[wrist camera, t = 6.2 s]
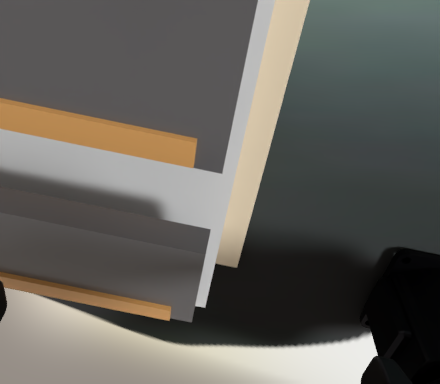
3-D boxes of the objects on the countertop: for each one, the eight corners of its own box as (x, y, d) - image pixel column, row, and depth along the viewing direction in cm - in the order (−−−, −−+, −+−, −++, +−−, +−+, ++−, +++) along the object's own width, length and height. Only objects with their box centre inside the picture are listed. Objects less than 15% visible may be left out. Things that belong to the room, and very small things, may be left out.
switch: (210, 229, 13) (204, 259, 12) (195, 301, 18) (190, 326, 17) (-132, 159, 13) (-160, 185, 12) (-52, 251, 18) (-68, 274, 17)
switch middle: (265, -39, 9) (261, -18, 8) (226, 154, 14) (221, 178, 13) (-244, -145, 9) (-297, -134, 8) (-99, 87, 14) (-123, 107, 13)
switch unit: (422, -432, 10) (581, -828, 5) (237, 256, 23) (230, 339, 18) (-240, -574, 10) (-759, -1123, 5) (-48, 198, 23) (-135, 264, 18)
